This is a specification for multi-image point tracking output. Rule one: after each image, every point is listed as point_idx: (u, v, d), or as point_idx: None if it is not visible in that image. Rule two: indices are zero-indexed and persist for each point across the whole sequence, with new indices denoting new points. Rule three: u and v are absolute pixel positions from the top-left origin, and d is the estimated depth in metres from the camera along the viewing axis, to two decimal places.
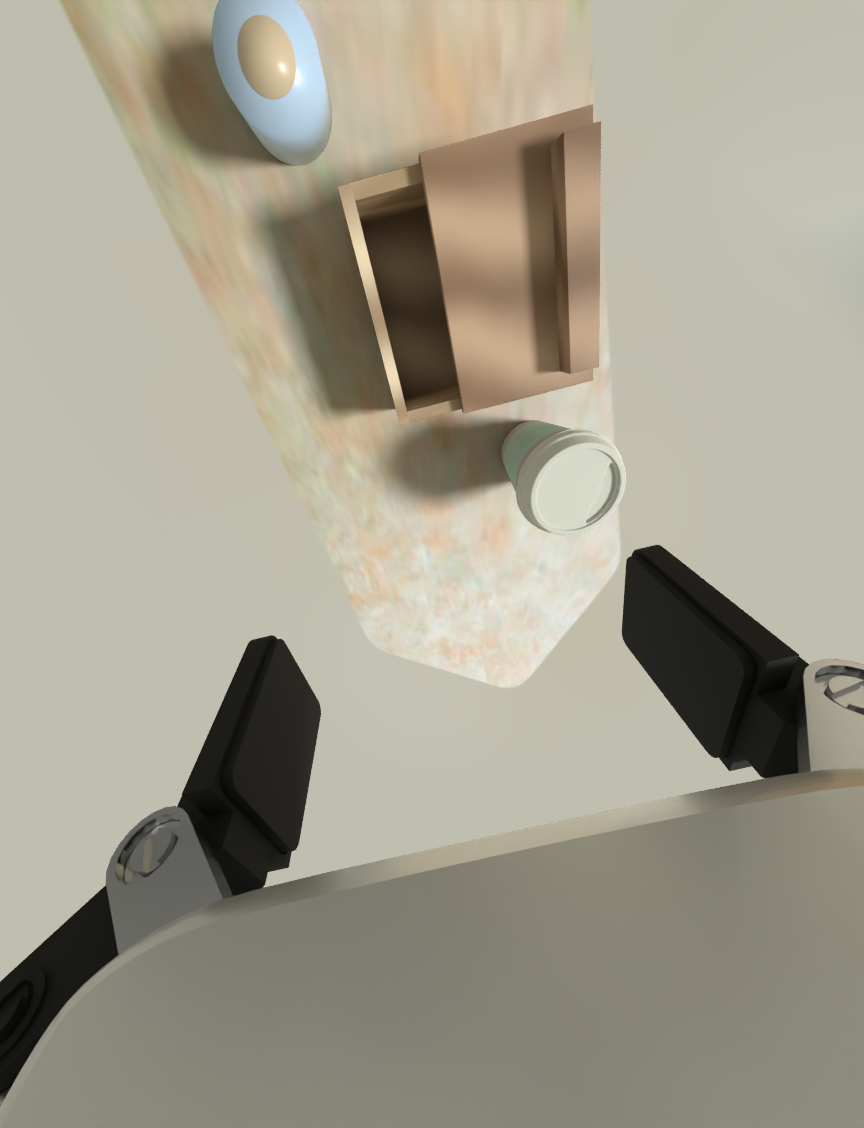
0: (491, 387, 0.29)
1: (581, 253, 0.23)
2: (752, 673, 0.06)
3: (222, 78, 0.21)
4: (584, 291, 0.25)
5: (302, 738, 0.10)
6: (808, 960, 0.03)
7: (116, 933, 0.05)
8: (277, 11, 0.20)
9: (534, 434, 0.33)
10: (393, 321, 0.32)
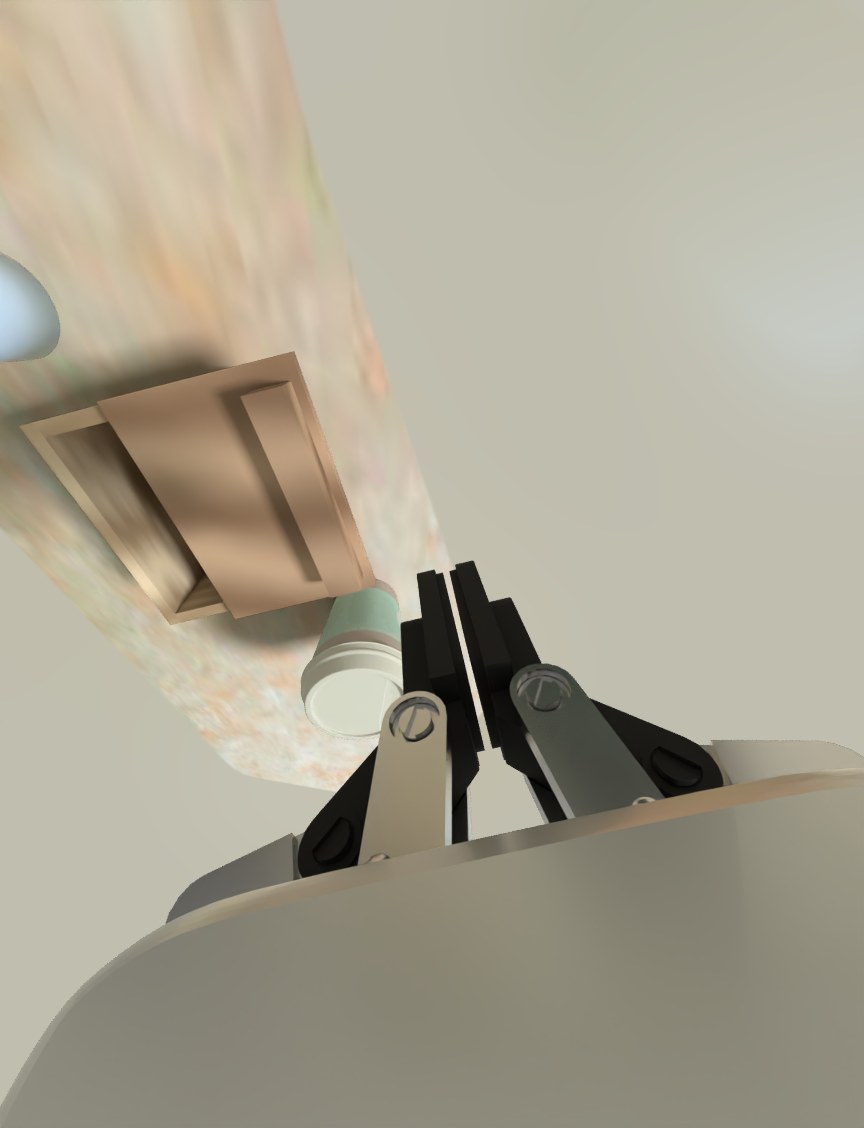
0: (259, 596, 0.26)
1: (303, 498, 0.21)
2: (483, 675, 0.08)
3: None
4: (319, 530, 0.22)
5: None
6: (808, 960, 0.03)
7: (375, 767, 0.06)
8: None
9: (335, 620, 0.30)
10: None
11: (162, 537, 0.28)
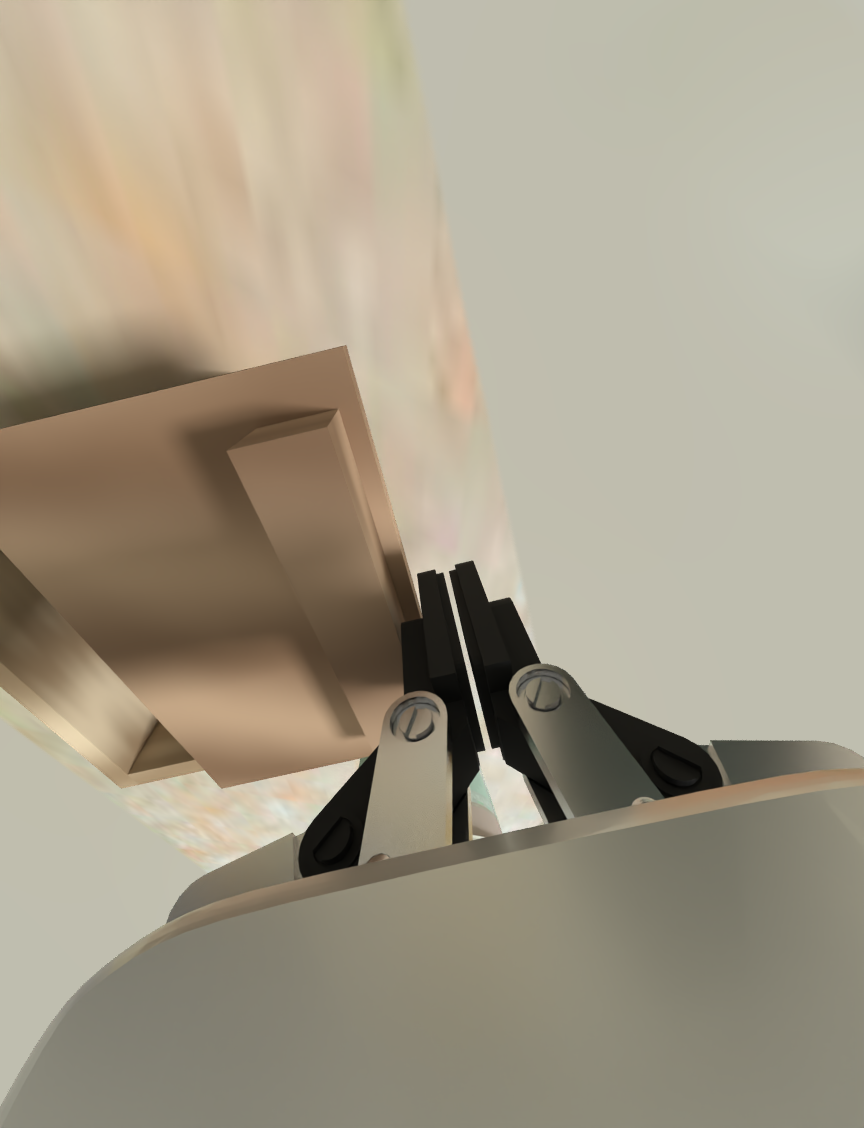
0: (261, 759, 0.15)
1: (355, 644, 0.10)
2: (482, 675, 0.08)
3: None
4: (382, 692, 0.11)
5: None
6: (808, 960, 0.03)
7: (376, 767, 0.06)
8: None
9: None
10: None
11: None
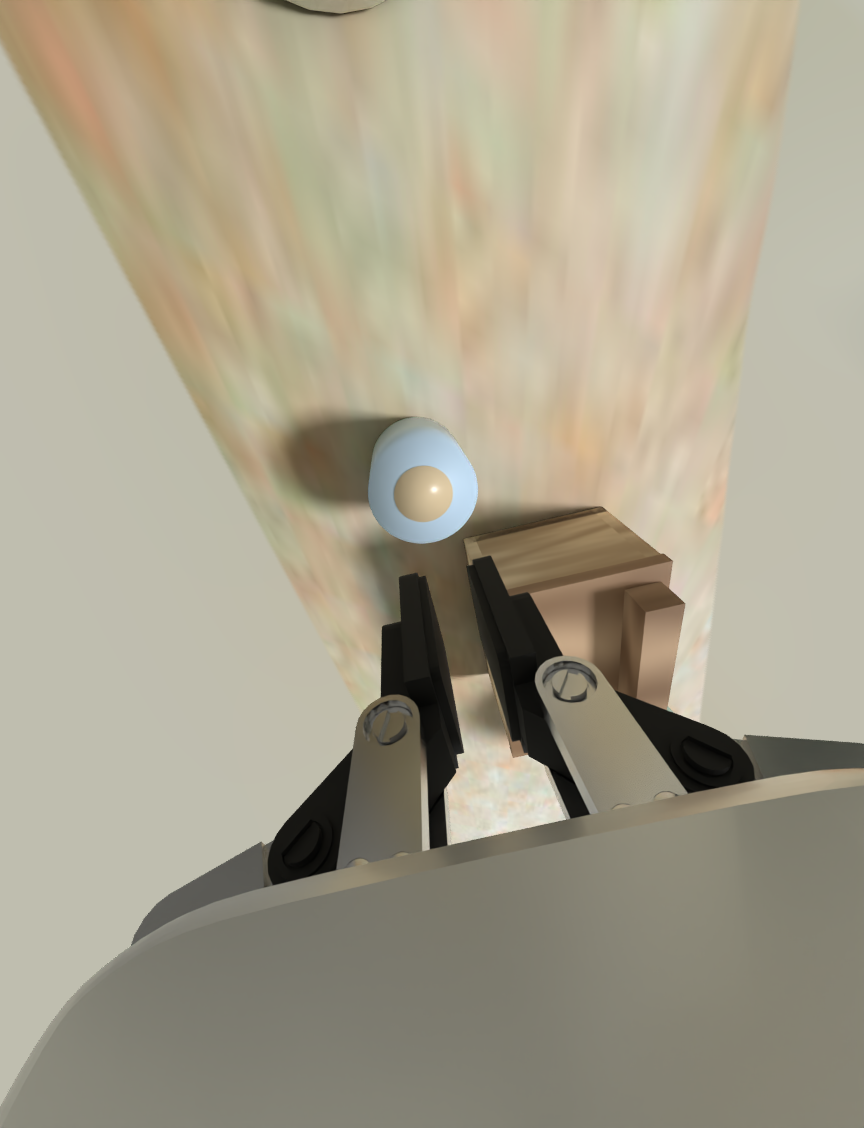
0: None
1: (653, 681, 0.22)
2: (507, 667, 0.08)
3: (373, 510, 0.20)
4: (652, 703, 0.23)
5: (446, 665, 0.11)
6: (808, 961, 0.03)
7: (350, 773, 0.06)
8: (441, 461, 0.19)
9: None
10: None
11: None
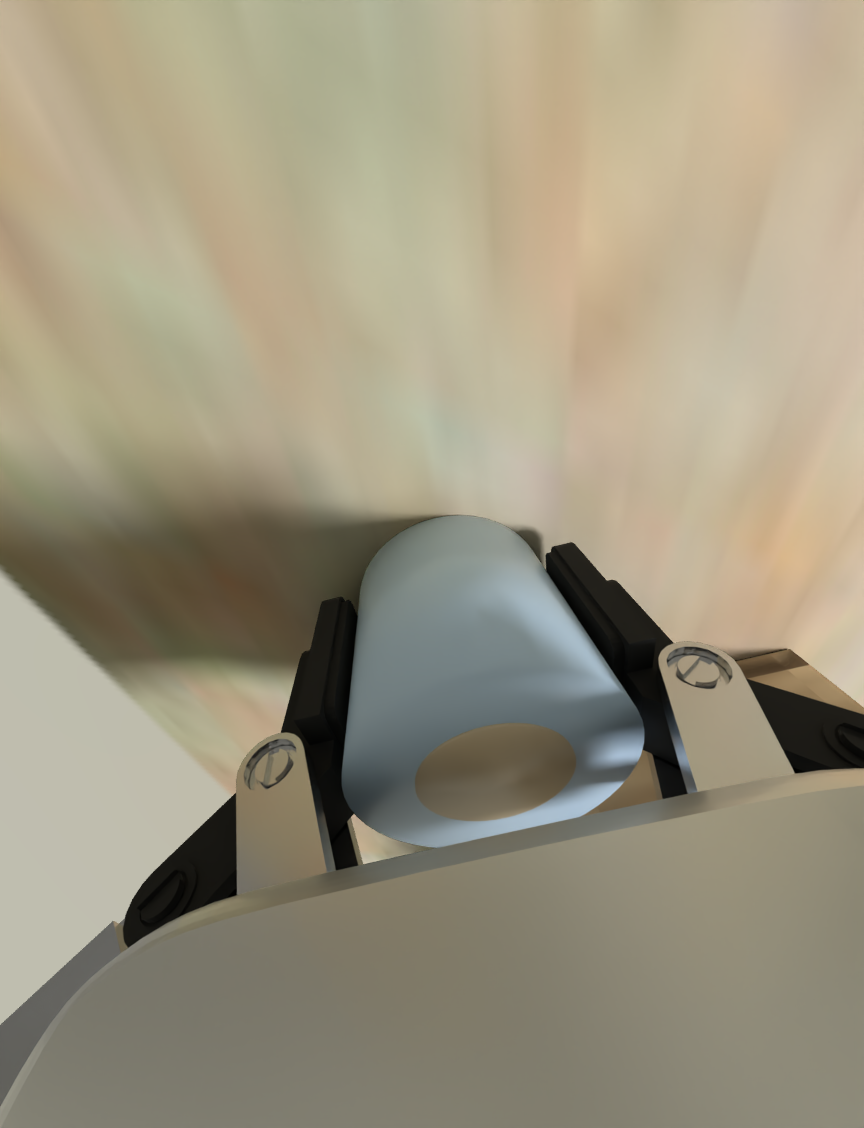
0: None
1: None
2: (621, 654, 0.07)
3: (357, 812, 0.07)
4: None
5: None
6: (806, 960, 0.03)
7: (237, 828, 0.06)
8: (556, 711, 0.06)
9: None
10: None
11: None
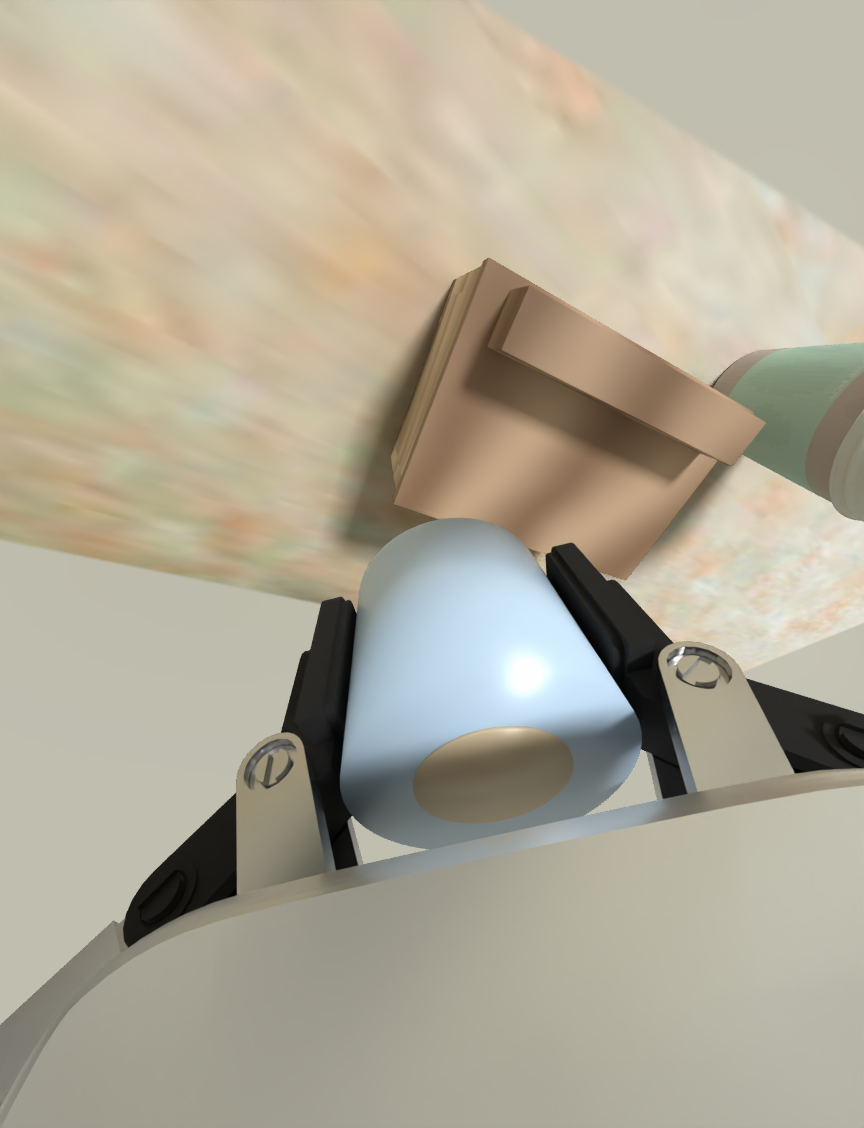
0: (633, 541, 0.21)
1: (632, 387, 0.15)
2: (621, 654, 0.07)
3: (356, 815, 0.07)
4: (672, 402, 0.15)
5: None
6: (806, 960, 0.03)
7: (237, 828, 0.06)
8: (553, 714, 0.06)
9: (781, 416, 0.20)
10: None
11: None
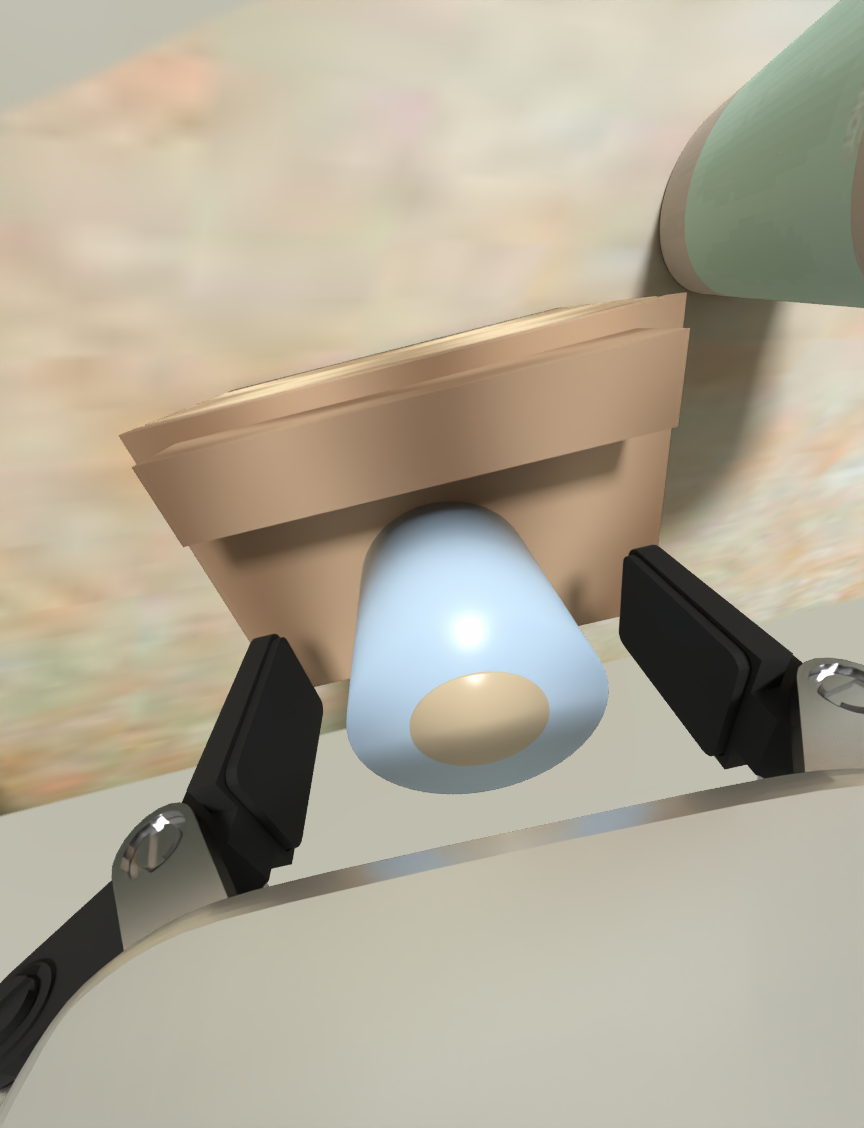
0: (619, 566, 0.13)
1: (392, 458, 0.09)
2: (746, 672, 0.07)
3: (360, 754, 0.08)
4: (477, 428, 0.09)
5: (305, 736, 0.10)
6: (809, 961, 0.03)
7: (121, 928, 0.05)
8: (530, 661, 0.07)
9: (775, 229, 0.10)
10: None
11: None
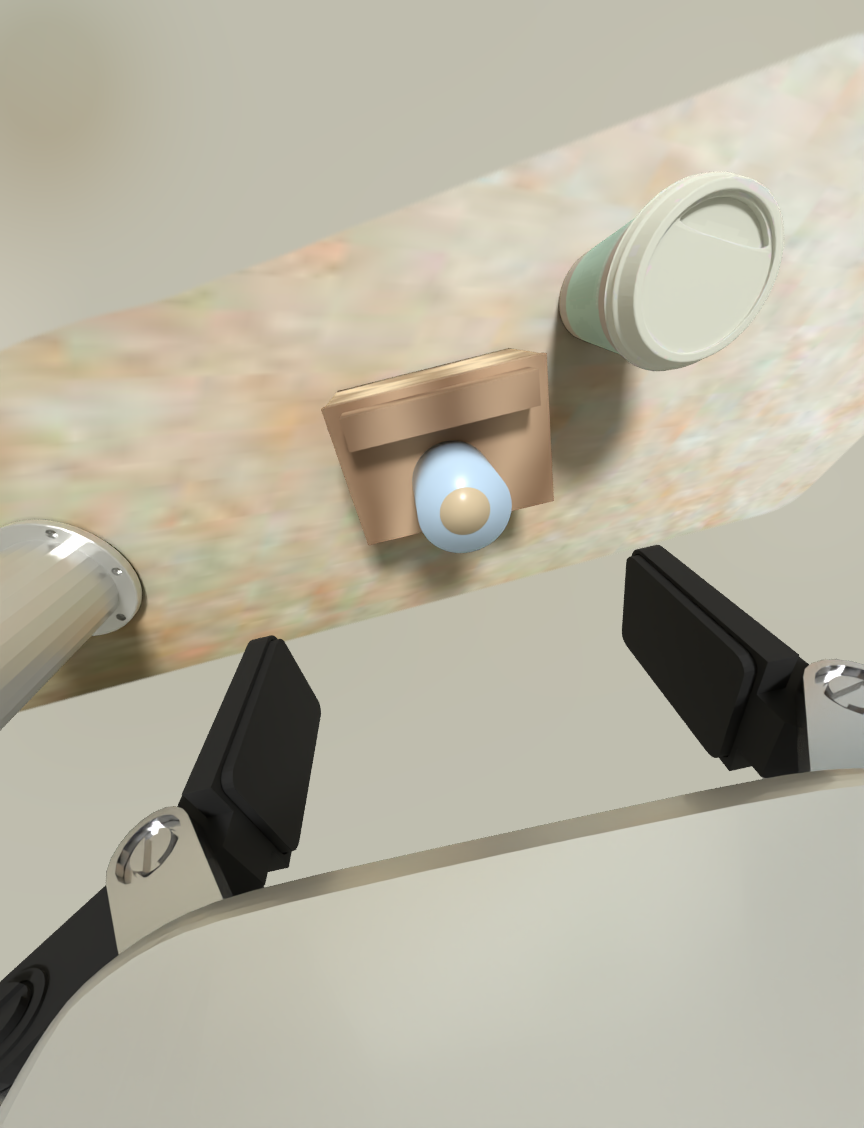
0: (534, 475, 0.28)
1: (432, 416, 0.23)
2: (752, 673, 0.06)
3: (421, 525, 0.23)
4: (464, 405, 0.23)
5: (302, 738, 0.10)
6: (808, 960, 0.03)
7: (116, 933, 0.05)
8: (481, 483, 0.22)
9: (588, 324, 0.25)
10: None
11: None
